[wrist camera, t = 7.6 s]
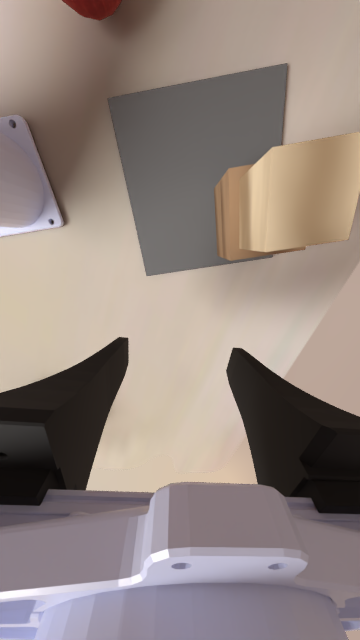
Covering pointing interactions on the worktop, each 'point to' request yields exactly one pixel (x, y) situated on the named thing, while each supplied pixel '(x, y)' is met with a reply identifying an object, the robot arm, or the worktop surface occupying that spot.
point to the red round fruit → (94, 7)
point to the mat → (192, 158)
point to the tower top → (236, 217)
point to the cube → (300, 194)
